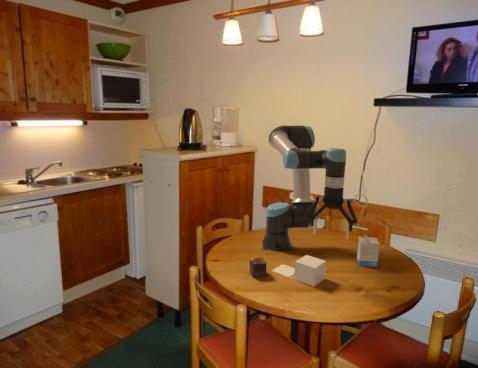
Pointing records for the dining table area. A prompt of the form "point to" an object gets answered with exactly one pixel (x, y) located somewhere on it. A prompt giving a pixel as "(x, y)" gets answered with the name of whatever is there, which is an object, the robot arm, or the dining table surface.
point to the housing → (310, 270)
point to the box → (257, 267)
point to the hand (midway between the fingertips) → (330, 235)
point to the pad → (284, 270)
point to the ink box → (367, 251)
